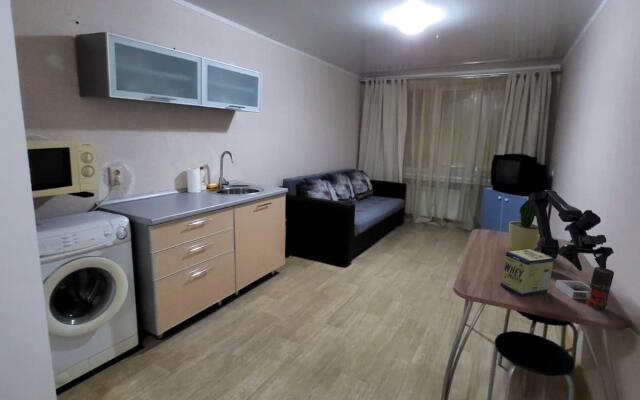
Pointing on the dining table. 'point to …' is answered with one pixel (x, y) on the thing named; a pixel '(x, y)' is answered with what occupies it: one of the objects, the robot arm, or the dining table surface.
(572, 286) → the collar
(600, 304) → the deodorant
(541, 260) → the protein box
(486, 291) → the dining table surface
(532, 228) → the potted cactus
